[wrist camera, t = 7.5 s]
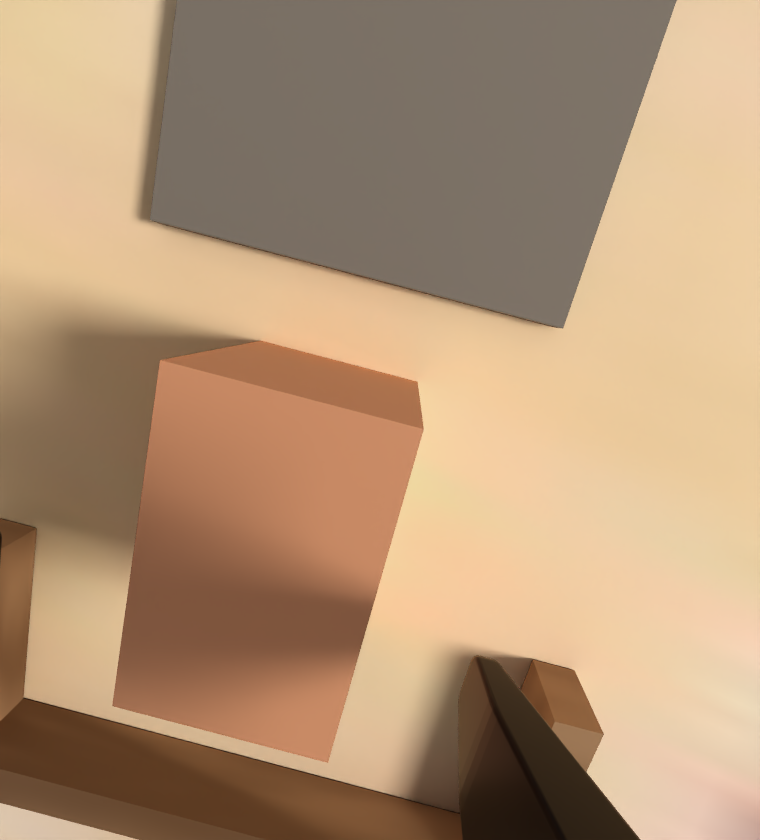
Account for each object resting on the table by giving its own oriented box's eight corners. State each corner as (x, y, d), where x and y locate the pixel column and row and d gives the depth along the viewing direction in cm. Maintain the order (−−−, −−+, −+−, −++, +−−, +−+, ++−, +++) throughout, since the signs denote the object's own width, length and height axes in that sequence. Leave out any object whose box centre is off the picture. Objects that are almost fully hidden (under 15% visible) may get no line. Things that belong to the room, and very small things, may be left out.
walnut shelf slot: (495, 854, 18) (508, 937, 16) (-16, 718, 18) (-81, 781, 16) (574, 670, 16) (603, 734, 14) (-5, 517, 16) (-79, 553, 14)
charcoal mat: (556, 327, 13) (563, 328, 13) (161, 223, 14) (149, 219, 13) (679, -33, 11) (694, -51, 11) (209, -155, 11) (199, -181, 11)
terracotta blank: (356, 599, 16) (327, 762, 10) (219, 563, 16) (112, 705, 10) (417, 381, 14) (423, 429, 8) (261, 340, 14) (159, 360, 8)
